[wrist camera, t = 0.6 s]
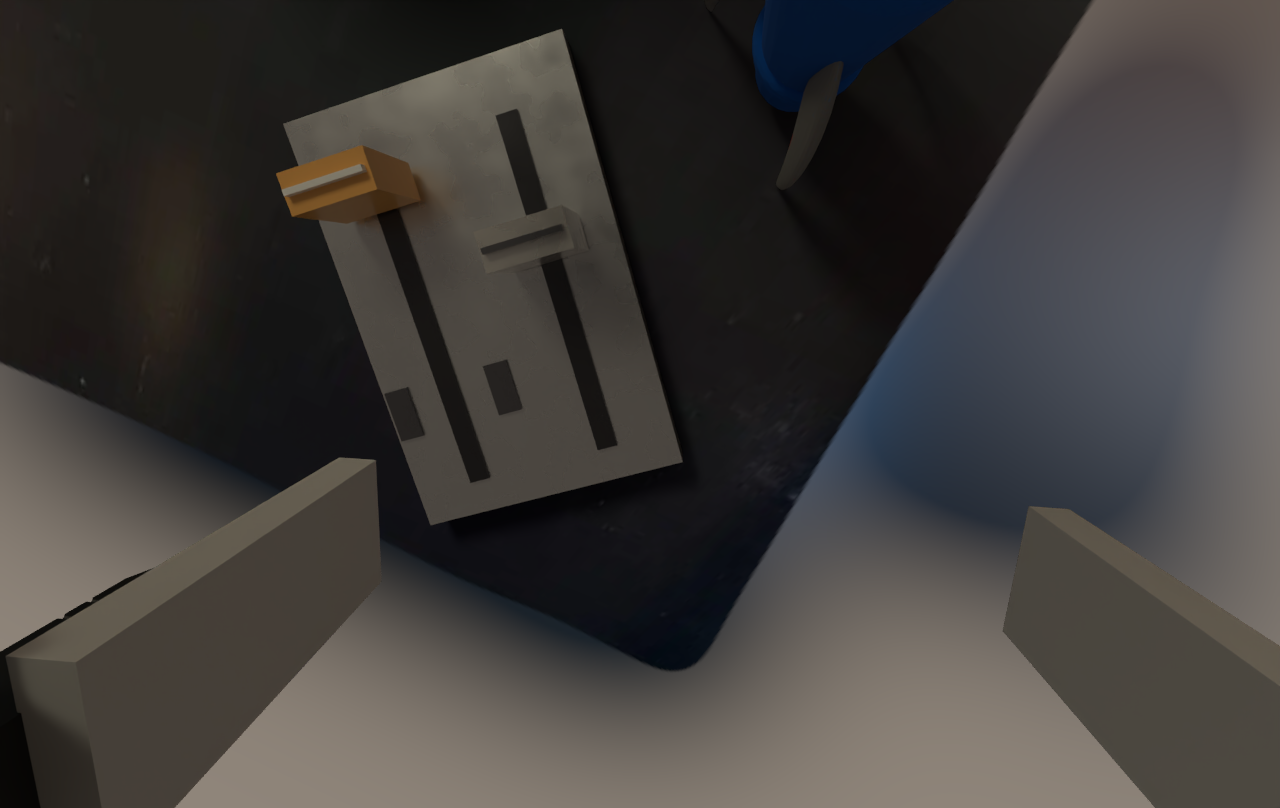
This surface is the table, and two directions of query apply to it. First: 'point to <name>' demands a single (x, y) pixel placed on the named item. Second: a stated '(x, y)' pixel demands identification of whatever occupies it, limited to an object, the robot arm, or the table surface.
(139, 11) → the table surface
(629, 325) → the console
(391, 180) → the fader
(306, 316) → the table surface
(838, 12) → the toy rocket
